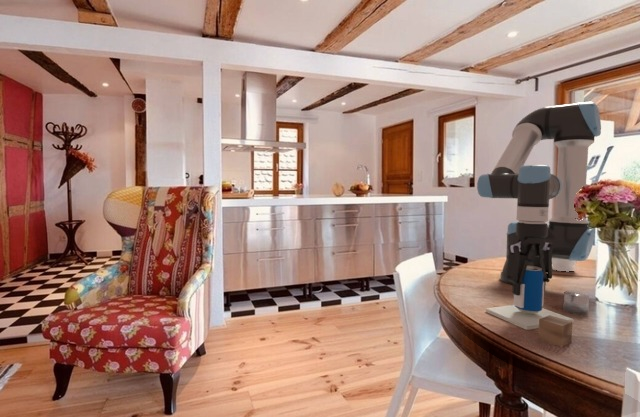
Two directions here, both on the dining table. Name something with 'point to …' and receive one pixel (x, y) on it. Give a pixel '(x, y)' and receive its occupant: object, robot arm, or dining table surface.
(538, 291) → the beverage can
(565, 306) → the grey metal tin
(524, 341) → the dining table surface
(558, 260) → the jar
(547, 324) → the walnut block
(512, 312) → the white board
